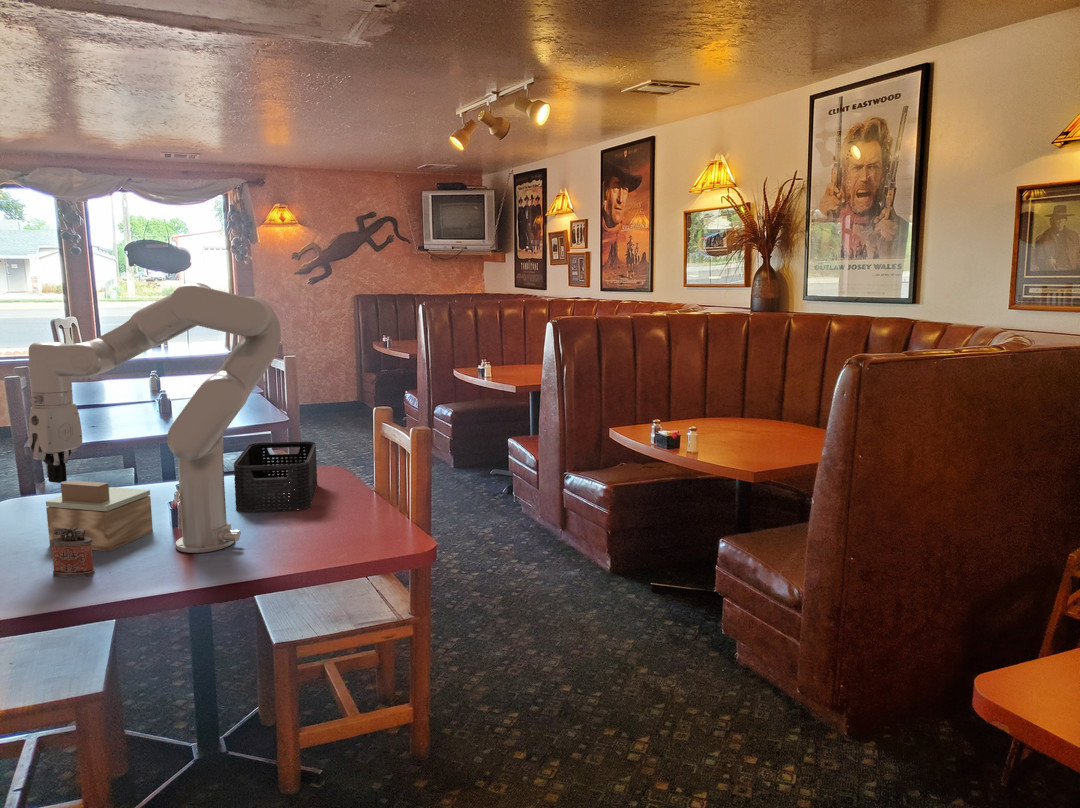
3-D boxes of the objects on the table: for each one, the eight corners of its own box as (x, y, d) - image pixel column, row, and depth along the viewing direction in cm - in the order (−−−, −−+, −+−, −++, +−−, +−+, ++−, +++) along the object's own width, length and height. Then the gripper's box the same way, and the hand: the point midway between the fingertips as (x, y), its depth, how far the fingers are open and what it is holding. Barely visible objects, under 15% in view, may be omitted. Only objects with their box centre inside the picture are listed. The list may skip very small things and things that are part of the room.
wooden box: (152, 531, 187) (150, 496, 186) (109, 551, 173) (106, 512, 172) (96, 527, 190) (93, 491, 189) (49, 545, 177) (46, 507, 175)
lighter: (98, 570, 162) (94, 525, 160) (89, 577, 158) (85, 530, 157) (59, 571, 161) (55, 525, 160) (49, 577, 158) (45, 530, 156)
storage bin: (309, 511, 206) (307, 462, 204) (233, 514, 202) (230, 464, 200) (318, 483, 234) (317, 440, 232) (251, 486, 230) (249, 442, 228)
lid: (150, 494, 186) (148, 474, 185) (106, 511, 172) (104, 488, 171) (93, 490, 189) (91, 470, 188) (46, 506, 175) (44, 484, 174)
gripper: (38, 405, 158) (43, 491, 161) (94, 395, 173) (98, 475, 175) (7, 402, 160) (13, 488, 162) (65, 393, 174) (70, 472, 177)
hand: (57, 481), depth 169 cm, fingers closed
